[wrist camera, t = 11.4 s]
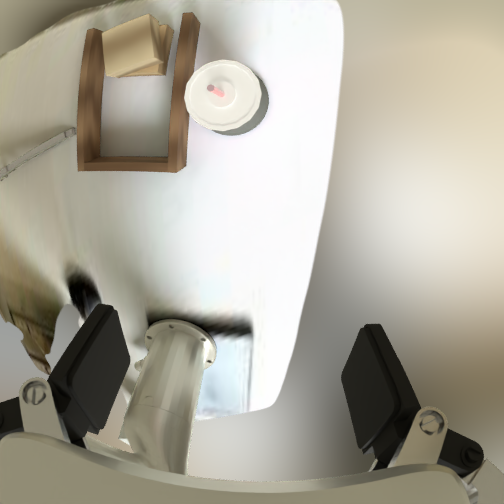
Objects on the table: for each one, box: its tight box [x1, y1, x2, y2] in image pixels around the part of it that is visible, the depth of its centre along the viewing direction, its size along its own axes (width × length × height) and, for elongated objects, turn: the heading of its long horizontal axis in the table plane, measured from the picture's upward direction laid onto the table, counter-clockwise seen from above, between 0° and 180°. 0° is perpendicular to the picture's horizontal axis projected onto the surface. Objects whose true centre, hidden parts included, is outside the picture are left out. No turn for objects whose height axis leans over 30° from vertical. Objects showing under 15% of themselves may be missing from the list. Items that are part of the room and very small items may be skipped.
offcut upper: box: [102, 14, 164, 78], centre depth 21 cm, size 6×6×3 cm
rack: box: [77, 13, 200, 173], centre depth 25 cm, size 18×13×4 cm
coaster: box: [212, 74, 269, 135], centre depth 27 cm, size 8×8×1 cm
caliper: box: [0, 128, 75, 181], centre depth 27 cm, size 20×1×6 cm, turn 102°
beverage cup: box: [184, 59, 262, 131], centre depth 21 cm, size 6×6×14 cm
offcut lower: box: [123, 25, 174, 77], centre depth 23 cm, size 6×6×3 cm
